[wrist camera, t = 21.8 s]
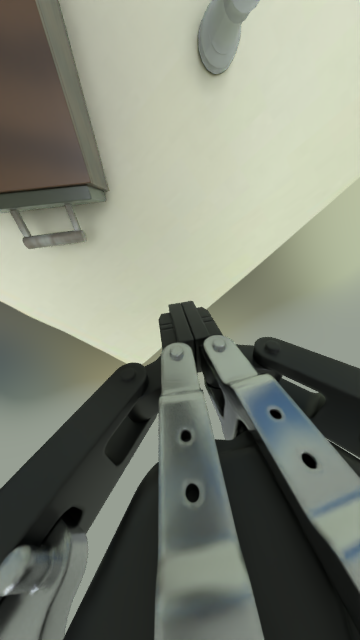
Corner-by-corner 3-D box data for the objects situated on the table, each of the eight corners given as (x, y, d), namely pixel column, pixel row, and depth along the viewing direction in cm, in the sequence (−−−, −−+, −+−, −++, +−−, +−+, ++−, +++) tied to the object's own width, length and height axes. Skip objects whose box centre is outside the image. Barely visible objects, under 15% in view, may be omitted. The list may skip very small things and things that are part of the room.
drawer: (115, 233, 27) (106, 243, 20) (24, 245, 26) (-19, 259, 19) (54, 15, 16) (-12, -125, 9) (-106, 18, 15) (-316, -140, 8)
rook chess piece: (210, 88, 21) (241, 34, 14) (189, 35, 19) (213, -59, 12) (241, 52, 20) (290, -24, 13) (222, -9, 17) (270, -137, 11)
